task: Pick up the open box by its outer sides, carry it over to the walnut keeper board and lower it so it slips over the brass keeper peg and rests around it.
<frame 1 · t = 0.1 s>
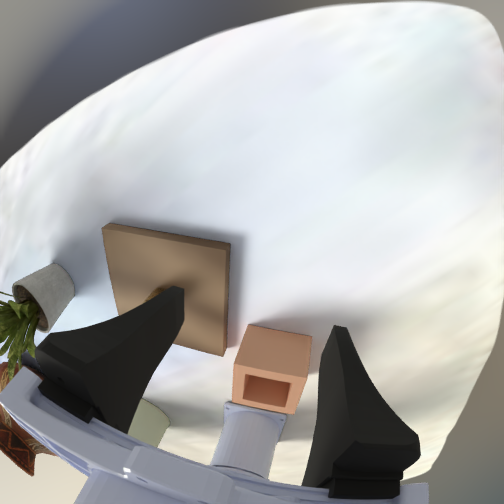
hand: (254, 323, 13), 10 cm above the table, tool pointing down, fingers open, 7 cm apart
house plant: (61, 272, 31), on the table
keeper: (167, 289, 27), on the table
open box: (275, 352, 28), on the table
can: (145, 410, 42), on the table
jug: (55, 393, 55), on the table
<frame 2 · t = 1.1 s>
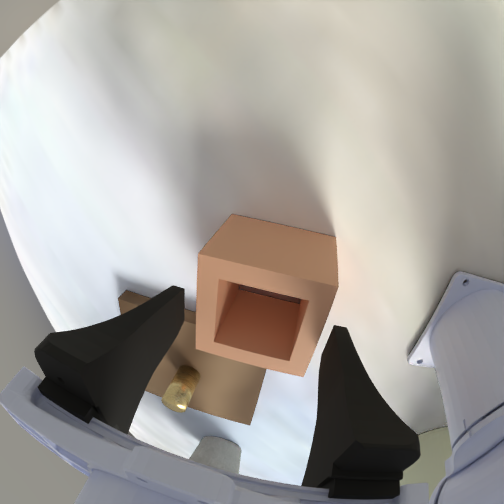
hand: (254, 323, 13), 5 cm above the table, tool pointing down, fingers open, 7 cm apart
house plant: (211, 440, 31), on the table
keeper: (194, 363, 24), on the table
open box: (274, 270, 18), on the table
can: (430, 443, 24), on the table
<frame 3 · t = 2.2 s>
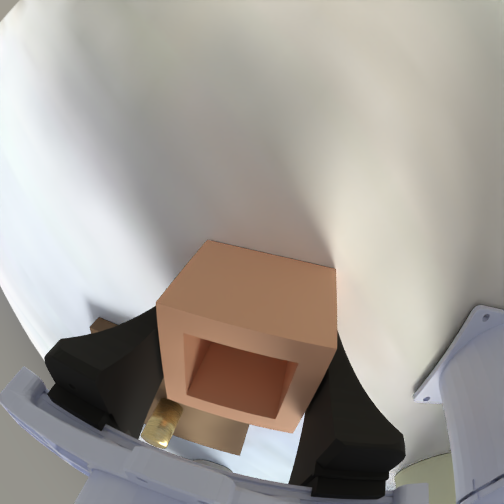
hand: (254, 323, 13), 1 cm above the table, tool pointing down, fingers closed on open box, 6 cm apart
house plant: (202, 463, 28), on the table
keeper: (177, 394, 21), on the table
open box: (260, 305, 15), on the table, touching gripper
can: (432, 467, 21), on the table
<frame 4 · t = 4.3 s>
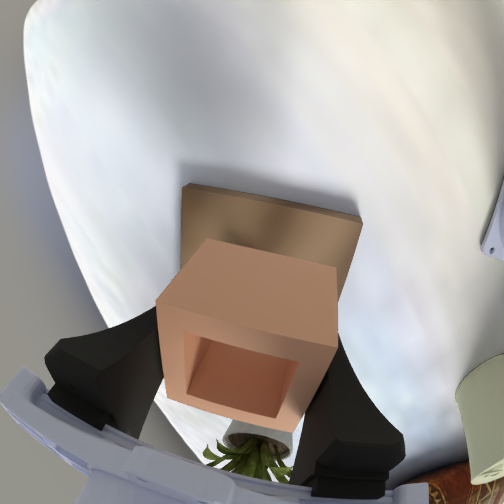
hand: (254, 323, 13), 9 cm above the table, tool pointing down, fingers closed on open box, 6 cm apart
house plant: (258, 395, 30), on the table
keeper: (260, 273, 22), on the table
open box: (261, 304, 15), point 7 cm above the table, touching gripper
can: (488, 379, 22), on the table
jug: (444, 475, 35), on the table
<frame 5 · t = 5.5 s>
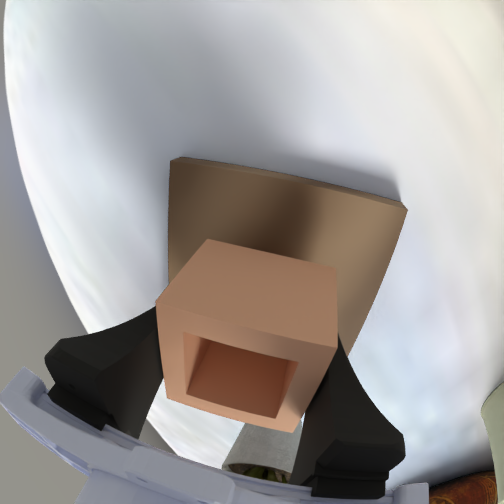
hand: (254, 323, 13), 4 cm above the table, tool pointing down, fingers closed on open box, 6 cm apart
house plant: (262, 416, 25), on the table
keeper: (271, 275, 17), on the table
open box: (260, 305, 15), point 3 cm above the table, touching gripper
jug: (454, 487, 30), on the table
when the fingers open (4 cm above the table, at t = 6.5 s): open box drops 2 cm, resting on keeper.
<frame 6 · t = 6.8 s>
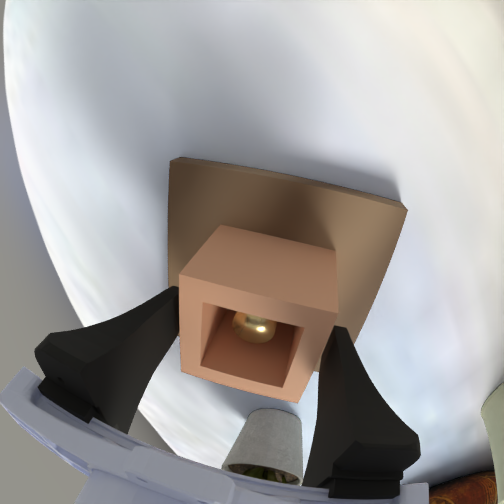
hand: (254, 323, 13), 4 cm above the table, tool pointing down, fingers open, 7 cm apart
house plant: (262, 416, 25), on the table
keeper: (270, 275, 17), on the table
open box: (267, 285, 16), point 1 cm above the table, touching keeper
jug: (454, 487, 30), on the table
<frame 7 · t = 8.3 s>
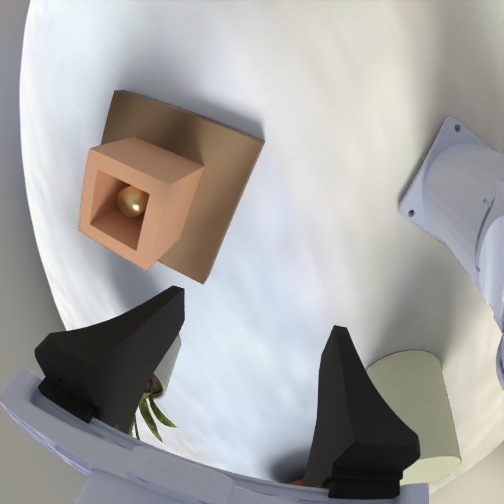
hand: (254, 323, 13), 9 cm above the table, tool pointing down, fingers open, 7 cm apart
house plant: (149, 326, 30), on the table
keeper: (163, 183, 22), on the table
open box: (156, 187, 21), point 1 cm above the table, touching keeper
can: (400, 378, 26), on the table
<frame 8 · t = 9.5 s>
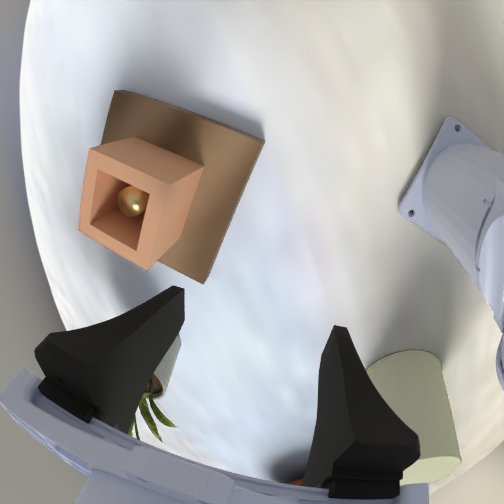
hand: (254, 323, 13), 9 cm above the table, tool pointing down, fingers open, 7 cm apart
house plant: (149, 326, 30), on the table
keeper: (163, 183, 22), on the table
open box: (156, 187, 21), point 1 cm above the table, touching keeper
can: (400, 378, 26), on the table
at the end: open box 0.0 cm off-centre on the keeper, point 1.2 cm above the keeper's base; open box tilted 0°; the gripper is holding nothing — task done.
